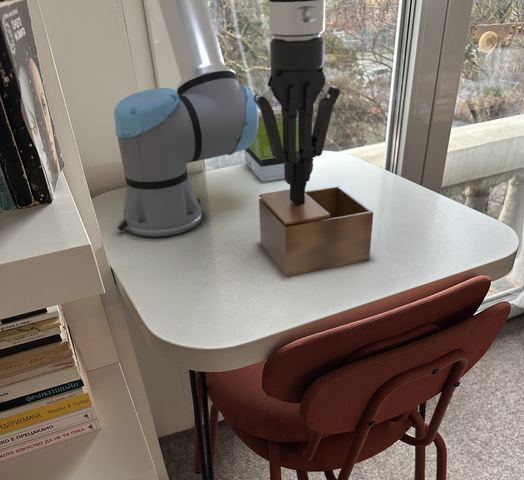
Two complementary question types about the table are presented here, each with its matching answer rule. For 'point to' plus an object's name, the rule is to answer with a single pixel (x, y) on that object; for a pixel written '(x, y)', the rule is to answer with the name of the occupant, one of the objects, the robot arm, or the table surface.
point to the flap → (293, 207)
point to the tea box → (267, 149)
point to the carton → (319, 234)
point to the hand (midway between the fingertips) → (297, 201)
